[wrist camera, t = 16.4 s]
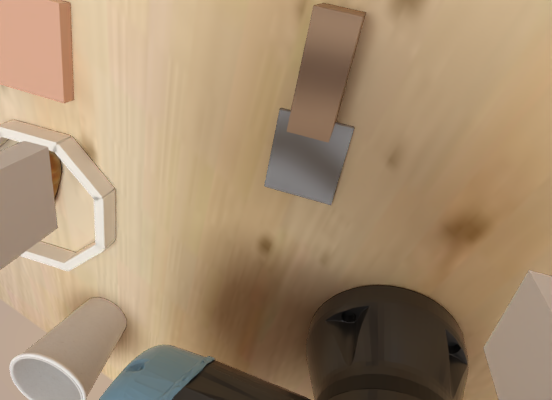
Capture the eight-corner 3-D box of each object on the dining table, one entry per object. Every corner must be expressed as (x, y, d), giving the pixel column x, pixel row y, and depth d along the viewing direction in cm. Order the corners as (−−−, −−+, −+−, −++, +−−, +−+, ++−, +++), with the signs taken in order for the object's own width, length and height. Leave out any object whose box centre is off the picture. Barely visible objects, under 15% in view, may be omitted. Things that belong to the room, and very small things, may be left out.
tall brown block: (331, 202, 35) (324, 232, 31) (265, 184, 36) (249, 210, 32) (387, 17, 28) (388, 22, 24) (303, -2, 29) (289, 0, 24)
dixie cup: (60, 299, 49) (-8, 365, 41) (106, 279, 46) (43, 347, 37) (103, 348, 52) (47, 420, 43) (150, 333, 49) (100, 408, 40)
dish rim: (115, 272, 45) (105, 283, 43) (-4, 234, 47) (-19, 243, 45) (114, 147, 38) (102, 155, 36) (-28, 108, 39) (-47, 113, 38)
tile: (73, 2, 33) (77, 98, 37) (-3, -19, 34) (8, 78, 38) (58, 3, 31) (63, 103, 35) (-22, -19, 32) (-8, 81, 36)
